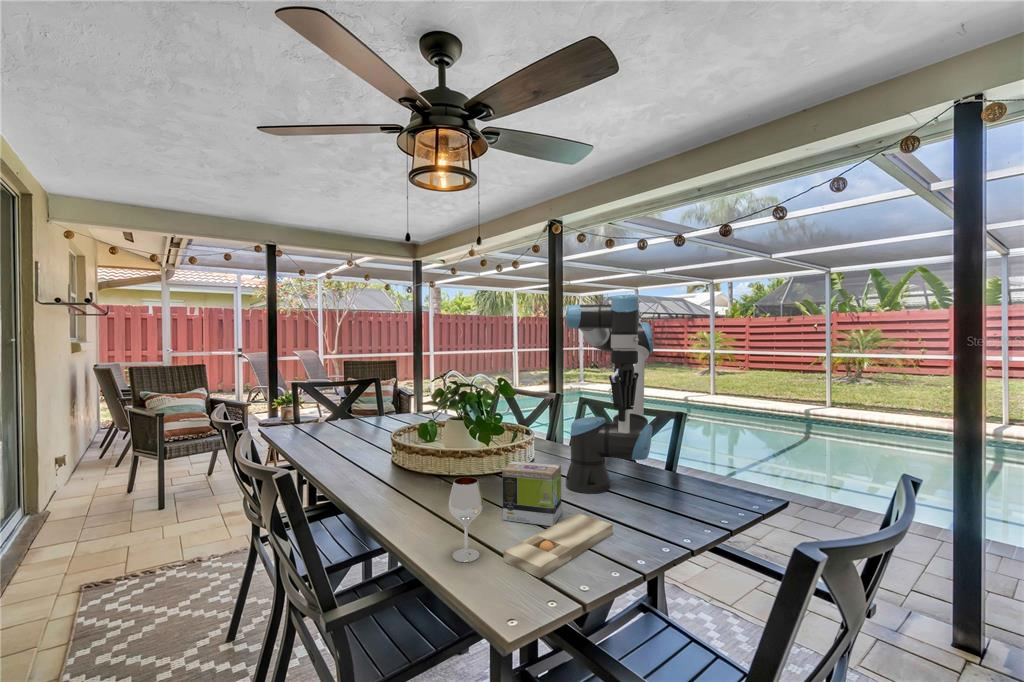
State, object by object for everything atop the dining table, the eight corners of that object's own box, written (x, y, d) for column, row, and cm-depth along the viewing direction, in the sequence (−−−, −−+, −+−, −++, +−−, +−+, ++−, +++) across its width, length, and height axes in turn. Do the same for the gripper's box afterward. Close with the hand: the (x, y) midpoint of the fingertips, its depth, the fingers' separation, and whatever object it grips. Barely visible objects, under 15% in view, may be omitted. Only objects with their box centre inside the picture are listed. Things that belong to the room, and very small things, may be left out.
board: (503, 561, 110) (503, 550, 110) (577, 522, 132) (577, 513, 132) (540, 578, 102) (540, 567, 102) (612, 533, 124) (612, 524, 124)
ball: (541, 536, 113) (547, 543, 115) (534, 549, 112) (540, 556, 113) (552, 540, 111) (558, 547, 113) (546, 554, 109) (552, 561, 111)
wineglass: (449, 548, 116) (449, 475, 116) (482, 547, 117) (482, 475, 116) (448, 565, 108) (447, 487, 107) (483, 563, 109) (483, 486, 108)
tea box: (561, 514, 137) (562, 463, 137) (553, 528, 128) (553, 474, 127) (513, 507, 142) (513, 459, 142) (501, 520, 133) (501, 468, 132)
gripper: (624, 351, 127) (624, 438, 127) (647, 349, 136) (646, 430, 137) (600, 350, 132) (600, 434, 132) (624, 348, 141) (623, 426, 142)
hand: (623, 432), depth 135 cm, fingers closed
